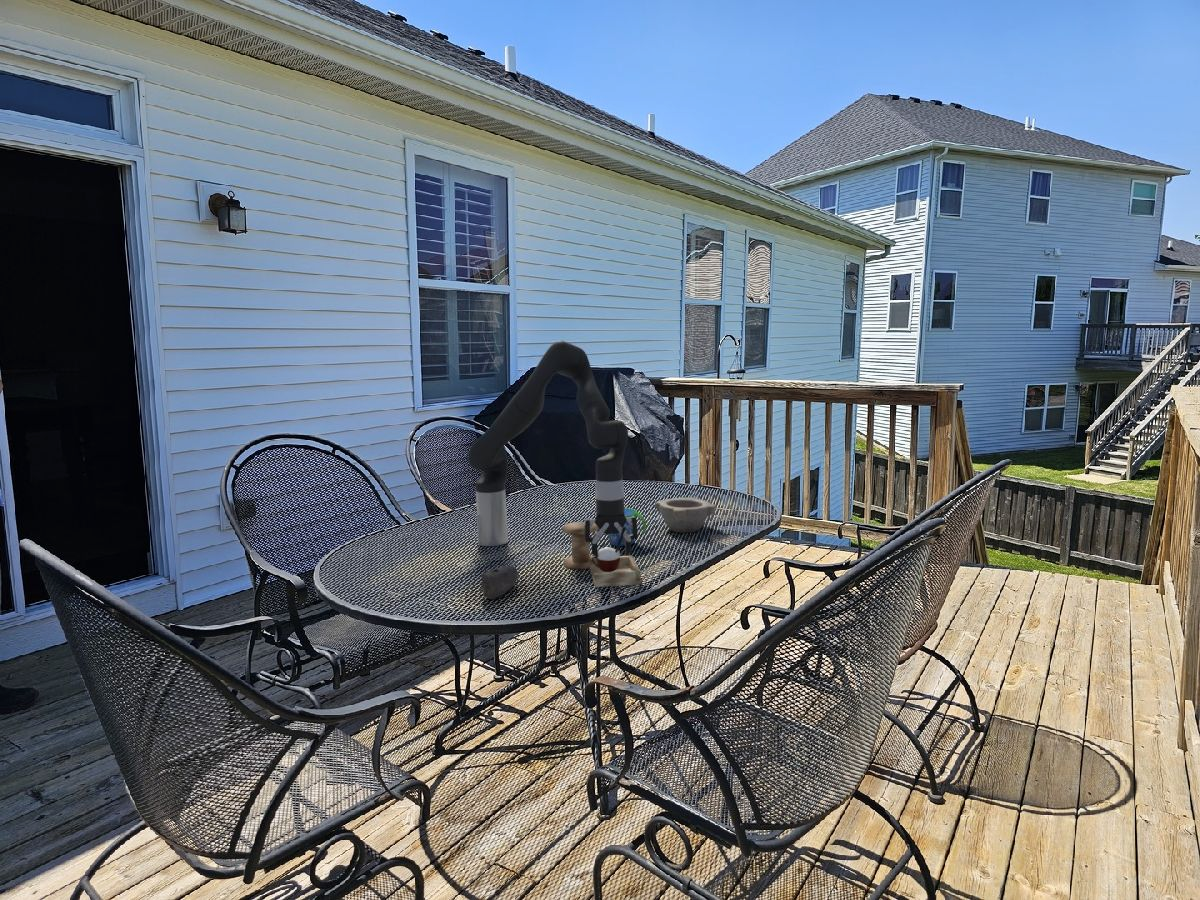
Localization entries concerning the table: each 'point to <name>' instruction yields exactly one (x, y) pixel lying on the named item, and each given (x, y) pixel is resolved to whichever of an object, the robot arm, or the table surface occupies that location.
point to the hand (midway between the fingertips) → (611, 555)
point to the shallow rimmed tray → (616, 573)
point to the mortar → (685, 513)
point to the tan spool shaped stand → (578, 545)
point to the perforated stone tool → (498, 581)
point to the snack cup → (628, 513)
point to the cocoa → (609, 557)
